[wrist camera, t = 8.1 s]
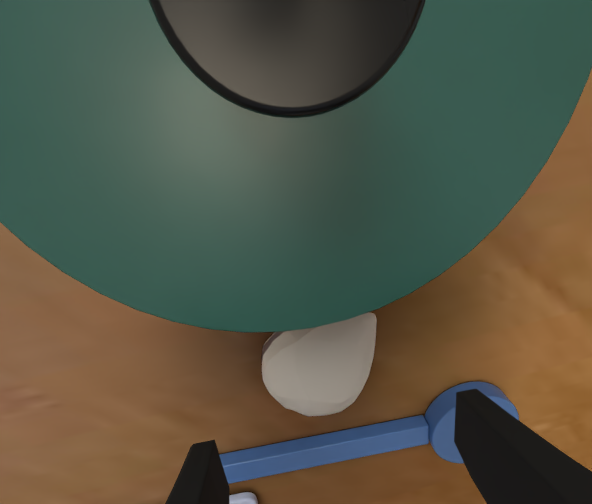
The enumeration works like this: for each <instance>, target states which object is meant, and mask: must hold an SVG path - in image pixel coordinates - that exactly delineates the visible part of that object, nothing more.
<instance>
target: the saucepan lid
mask: <svg viewBox="0 0 592 504" xmlns="http://www.w3.org/2000/svg"><path fill="white" fill-rule="evenodd" d="M591 68H592V0H0V222H1V223H2V224H3V225H4V226H5V227H6V228H8V229H9V230H10V231H11V232H12V233H13V234H14V235H15V236H16V237H18V238H19V239H20V240H21V241H22V242H23V243H24V244H25V245H26V246H28V247H29V248H31V249H32V250H33V251H35V252H36V253H37V254H39V255H40V256H42V257H43V258H44V259H46V260H47V261H48V262H50V263H51V264H53V265H54V266H55V267H57V268H58V269H59V270H61V271H62V272H64V273H65V274H67V275H69V276H71V277H72V278H74V279H76V280H78V281H79V282H81V283H83V284H84V285H86V286H88V287H90V288H91V289H93V290H95V291H97V292H98V293H100V294H102V295H105V296H107V297H109V298H111V299H114V300H116V301H118V302H120V303H123V304H125V305H127V306H129V307H132V308H134V309H136V310H139V311H142V312H145V313H148V314H151V315H154V316H157V317H161V318H164V319H167V320H170V321H173V322H178V323H182V324H187V325H192V326H197V327H202V328H207V329H214V330H224V331H235V332H284V331H292V330H300V329H308V328H315V327H319V326H323V325H327V324H332V323H336V322H340V321H344V320H348V319H351V318H354V317H356V316H359V315H362V314H365V313H368V312H370V311H373V310H376V309H379V308H381V307H383V306H385V305H387V304H389V303H391V302H394V301H396V300H398V299H400V298H402V297H404V296H406V295H408V294H410V293H412V292H413V291H415V290H417V289H418V288H420V287H422V286H423V285H425V284H426V283H428V282H430V281H431V280H433V279H434V278H436V277H438V276H439V275H441V274H442V273H443V272H445V271H446V270H447V269H449V268H450V267H451V266H452V265H454V264H455V263H456V262H458V261H459V260H460V259H461V258H463V257H464V256H465V255H467V254H468V253H469V252H470V251H471V250H472V249H473V248H475V247H476V246H477V245H478V244H479V243H480V242H481V241H482V240H483V239H484V238H485V237H486V236H487V235H488V234H489V233H490V232H491V231H492V230H493V229H494V228H495V227H497V226H498V224H499V223H500V222H501V221H502V220H503V219H504V217H505V216H506V215H507V214H508V213H509V211H510V210H511V209H512V208H513V207H514V206H515V204H516V203H517V202H518V201H519V200H520V199H521V197H522V196H523V195H524V194H525V192H526V191H527V189H528V188H529V186H530V185H531V184H532V182H533V181H534V179H535V178H536V176H537V175H538V173H539V172H540V171H541V169H542V168H543V166H544V165H545V163H546V162H547V160H548V159H549V157H550V155H551V153H552V152H553V150H554V148H555V146H556V144H557V143H558V141H559V139H560V137H561V135H562V134H563V132H564V130H565V128H566V127H567V125H568V123H569V121H570V119H571V116H572V114H573V112H574V109H575V107H576V105H577V103H578V100H579V98H580V96H581V94H582V91H583V89H584V87H585V84H586V82H587V80H588V77H589V74H590V71H591Z"/></svg>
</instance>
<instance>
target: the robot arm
mask: <svg viewBox="0 0 592 504" xmlns="http://www.w3.org/2000/svg"><path fill="white" fill-rule="evenodd" d="M454 442H455V445H456V447H457V449H458V451H459V453H460V455H461V457H462V460H463V462H464V464H465V466H466V468H467V470H468V472H469V474H470V476H471V478H472V479H473V481H474V483H475V485H476V486H477V488H478V489H479V491H480V493H481V494H482V496H483V498H484V499H485V501H486V503H487V504H592V472H591V471H590V470H588V469H587V468H585V467H584V466H582V465H581V464H579V463H578V462H576V461H575V460H573V459H572V458H570V457H569V456H567V455H566V454H564V453H563V452H562V451H560V450H559V449H557V448H556V447H555V446H553V445H552V444H550V443H549V442H547V441H546V440H545V439H543V438H542V437H540V436H539V435H538V434H536V433H535V432H534V431H532V430H531V429H529V428H528V427H527V426H525V425H524V424H523V423H521V422H520V421H519V420H517V419H516V418H515V417H513V416H512V415H511V414H509V413H508V412H507V411H505V410H504V409H503V408H501V407H500V406H499V405H498V404H496V403H495V402H494V401H492V400H491V399H490V398H488V397H487V396H486V395H484V394H483V393H482V392H480V391H479V390H478V389H476V388H475V389H470V390H465V391H460V392H456V410H455V431H454ZM165 504H258V501H257V498H256V496H255V494H253V493H251V492H243V493H238V494H233V495H229V485H228V482H227V478H226V475H225V472H224V469H223V465H222V462H221V459H220V456H219V453H218V449H217V446H216V443H215V440H211V441H206V442H201V443H196V444H193V445H192V446H191V448H190V450H189V452H188V455H187V457H186V459H185V462H184V464H183V466H182V469H181V471H180V473H179V476H178V478H177V480H176V482H175V484H174V487H173V489H172V491H171V493H170V495H169V497H168V499H167V501H166V503H165Z"/></svg>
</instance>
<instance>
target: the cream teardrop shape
mask: <svg viewBox="0 0 592 504" xmlns="http://www.w3.org/2000/svg"><path fill="white" fill-rule="evenodd" d="M376 324H377V319H376V316H375V314H373V313H370V312H368V313H365V314H362V315H359V316H356V317H354V318H351V319H348V320H344V321H340V322H336V323H332V324H327V325H323V326H319V327H315V328H308V329H300V330H292V331H284V332H274V333H273V334H272V335H271V336H270V337H269V338H268V340H267V341H266V342H265V344H264V345H263V349H262V357H261V360H262V376H263V382H264V384H265V386H266V388H267V390H268V391H269V393H270V394H271V395H272V396H273V397H274V398H275V399H276V400H277V401H278V402H279V403H280V404H281V405H282V406H283V407H285V408H286V409H292V410H294V411H296V412H298V413H300V414H303V415H306V416H323V415H329V414H334V413H338V412H341V411H343V410H344V409H345V408H347V407H348V406H350V405H351V404H352V403H354V401H355V400H356V398H357V397H358V395H359V394H360V392H361V391H362V389H363V387H364V385H365V383H366V380H367V378H368V376H369V372H370V368H371V364H372V361H373V356H374V349H375V341H376Z"/></svg>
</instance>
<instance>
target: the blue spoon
mask: <svg viewBox="0 0 592 504" xmlns="http://www.w3.org/2000/svg"><path fill="white" fill-rule="evenodd" d="M475 388H476V389H478V390H479V391H480V392H482V393H483V394H484V395H486V396H487V397H488V398H490V399H491V400H492V401H494V402H495V403H496V404H498V405H499V406H500V407H501V408H503V409H504V410H505V411H507V412H508V413H509V414H511V415H512V416H513V417H515V418H516V419H517V420H519V416H518V412H517V409H516V408H515V406H514V405H513V404H512V403H511V401H510V400H509V399H508V398H507V397H506V396H505V394H504V393H503V392H502V391H501V390H500V389H499V388H498V387H496V386H494V385H492V384H489V383H486V382H467V383H463V384H459V385H457V386H454V387H452V388H450V389H448V390H446V391H445V392H443V393H442V394H440V395H439V396H438V397H437V398H436V399H435V400H434V401H433V402H432V403H431V405H430V406H429V408H428V409H427V411H426V414H425V417H424V416H423V415H418V416H413V417H408V418H403V419H398V420H393V421H388V422H383V423H378V424H373V425H367V426H362V427H357V428H352V429H347V430H342V431H337V432H332V433H327V434H322V435H316V436H311V437H306V438H301V439H296V440H291V441H286V442H281V443H276V444H271V445H265V446H260V447H255V448H250V449H245V450H240V451H235V452H230V453H225V454H219V456H220V459H221V462H222V465H223V469H224V472H225V475H226V478H227V482H228V484H230V483H235V482H240V481H245V480H250V479H255V478H260V477H265V476H270V475H274V474H279V473H284V472H289V471H294V470H299V469H304V468H309V467H314V466H319V465H324V464H329V463H334V462H339V461H344V460H349V459H354V458H359V457H364V456H369V455H374V454H379V453H384V452H389V451H394V450H399V449H404V448H409V447H414V446H419V445H424V444H428V443H429V441H430V443H431V445H432V447H433V449H434V451H435V452H436V453H437V454H438V455H439V456H440V457H441V458H443V459H444V460H447V461H449V462H453V463H464V462H463V460H462V457H461V455H460V453H459V451H458V449H457V447H456V445H455V442H454V431H455V410H456V392H460V391H465V390H470V389H475Z"/></svg>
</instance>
